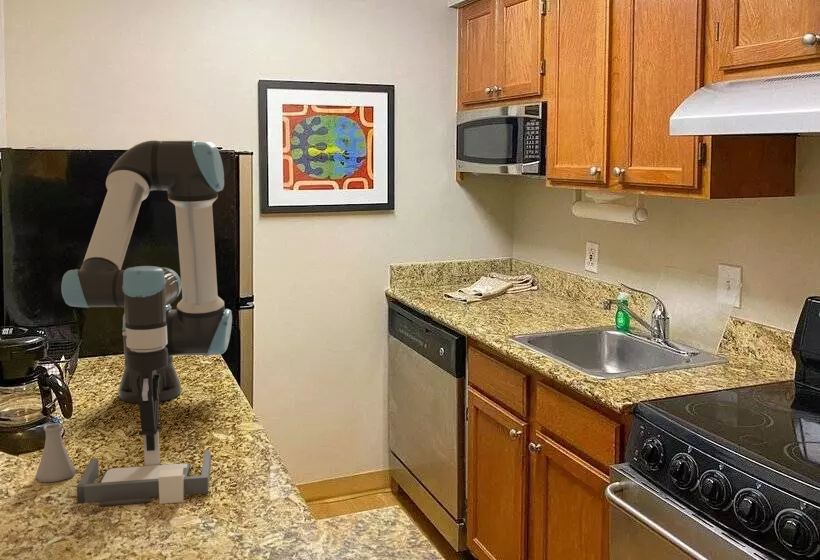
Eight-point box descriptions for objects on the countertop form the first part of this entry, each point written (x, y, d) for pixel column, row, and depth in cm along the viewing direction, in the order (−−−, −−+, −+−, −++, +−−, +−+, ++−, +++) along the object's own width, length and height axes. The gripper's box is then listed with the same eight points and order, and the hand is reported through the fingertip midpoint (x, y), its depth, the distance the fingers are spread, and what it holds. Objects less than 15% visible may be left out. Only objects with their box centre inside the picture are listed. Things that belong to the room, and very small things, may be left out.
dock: (92, 473, 149) (90, 448, 148) (211, 464, 153) (210, 440, 153) (74, 510, 133) (72, 483, 132) (207, 500, 138) (206, 473, 137)
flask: (35, 486, 143) (32, 435, 141) (34, 472, 149) (31, 422, 148) (78, 479, 146) (74, 429, 145) (74, 465, 152) (71, 417, 151)
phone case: (96, 495, 141) (186, 488, 143) (95, 487, 141) (185, 480, 143) (106, 476, 149) (191, 469, 152) (106, 468, 149) (190, 461, 152)
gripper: (131, 340, 153) (136, 452, 157) (121, 357, 140) (127, 478, 144) (170, 338, 154) (175, 450, 158) (163, 355, 142) (169, 475, 146)
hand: (152, 463), depth 151 cm, fingers closed
